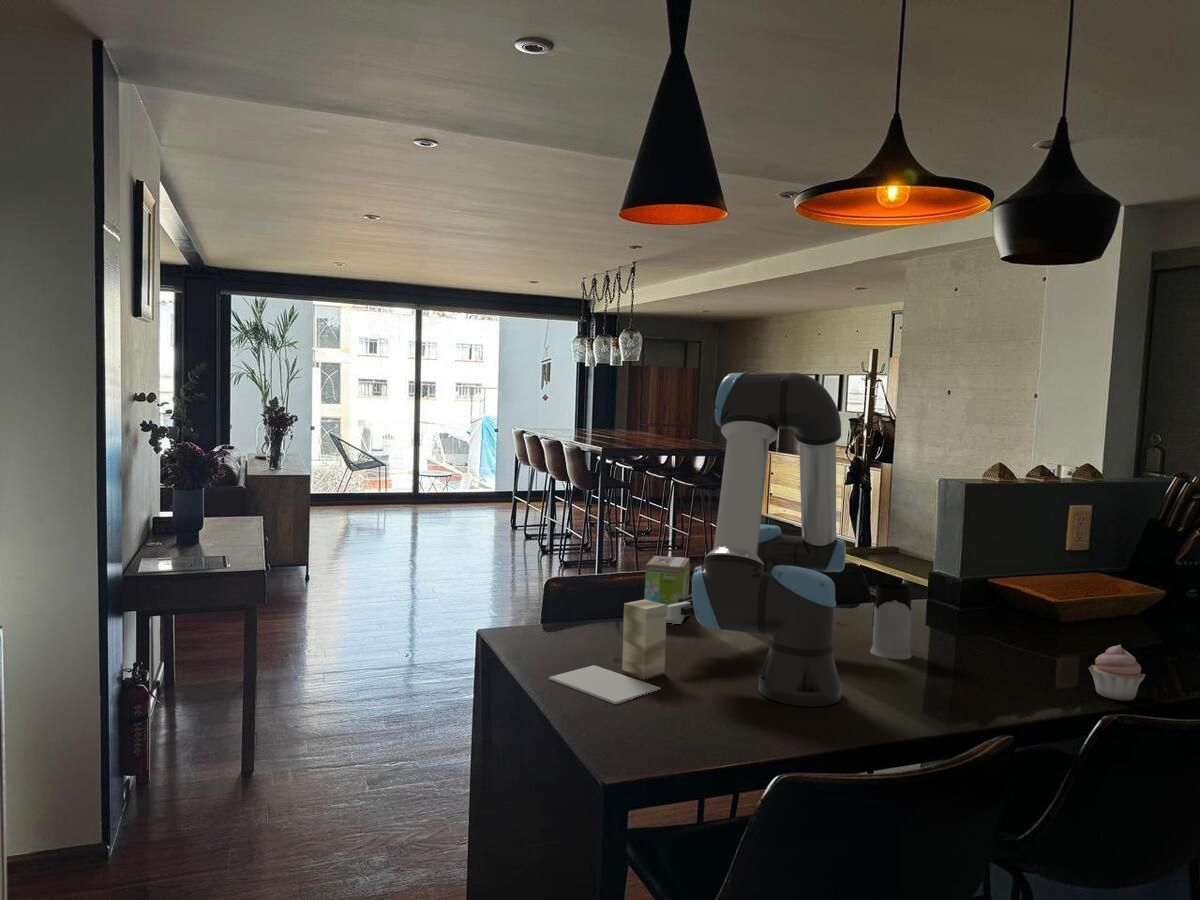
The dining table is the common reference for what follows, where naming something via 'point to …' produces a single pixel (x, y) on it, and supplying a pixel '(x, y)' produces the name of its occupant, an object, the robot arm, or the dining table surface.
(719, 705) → the dining table surface
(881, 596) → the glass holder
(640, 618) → the beech block
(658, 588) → the tea box
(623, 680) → the mat
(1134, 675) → the cupcake
